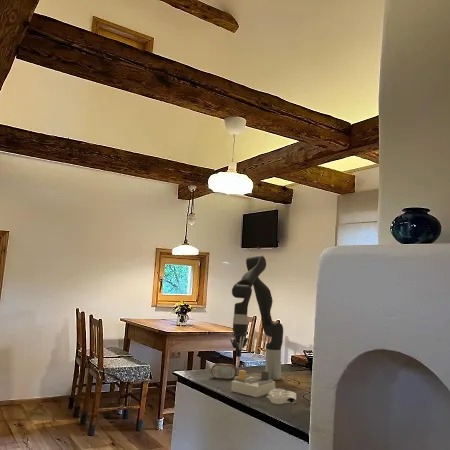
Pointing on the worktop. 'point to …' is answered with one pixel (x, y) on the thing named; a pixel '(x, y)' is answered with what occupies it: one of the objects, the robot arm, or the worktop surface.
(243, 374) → the breaker toggle
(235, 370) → the tin
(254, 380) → the breaker housing
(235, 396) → the worktop surface
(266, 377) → the toggle
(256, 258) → the robot arm
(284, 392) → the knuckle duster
